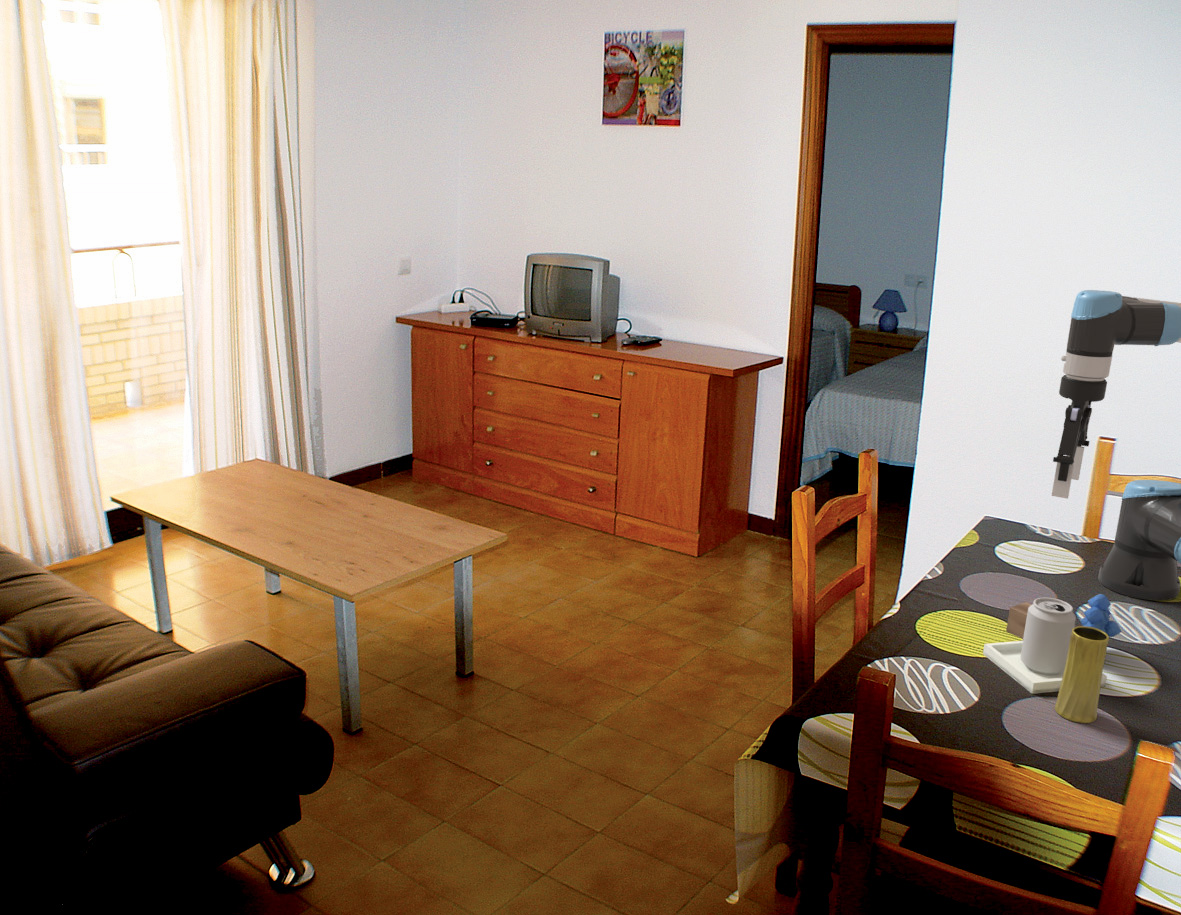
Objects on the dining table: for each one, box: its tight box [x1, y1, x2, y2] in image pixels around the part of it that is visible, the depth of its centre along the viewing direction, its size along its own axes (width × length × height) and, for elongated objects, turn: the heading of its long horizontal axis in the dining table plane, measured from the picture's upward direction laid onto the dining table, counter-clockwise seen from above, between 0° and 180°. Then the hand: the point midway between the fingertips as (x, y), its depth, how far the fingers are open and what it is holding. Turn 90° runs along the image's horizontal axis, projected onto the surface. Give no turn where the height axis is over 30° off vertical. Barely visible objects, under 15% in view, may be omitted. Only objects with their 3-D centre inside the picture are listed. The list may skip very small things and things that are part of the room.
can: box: [1020, 596, 1077, 675], centre depth 168 cm, size 8×8×12 cm
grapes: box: [1079, 593, 1123, 638], centre depth 174 cm, size 12×7×12 cm, turn 143°
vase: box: [1054, 625, 1110, 724], centre depth 155 cm, size 6×6×14 cm
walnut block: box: [1005, 601, 1033, 640], centre depth 183 cm, size 5×5×5 cm
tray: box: [982, 640, 1108, 695], centre depth 170 cm, size 14×14×2 cm
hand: (1065, 487), depth 183 cm, fingers open, 13 cm apart
